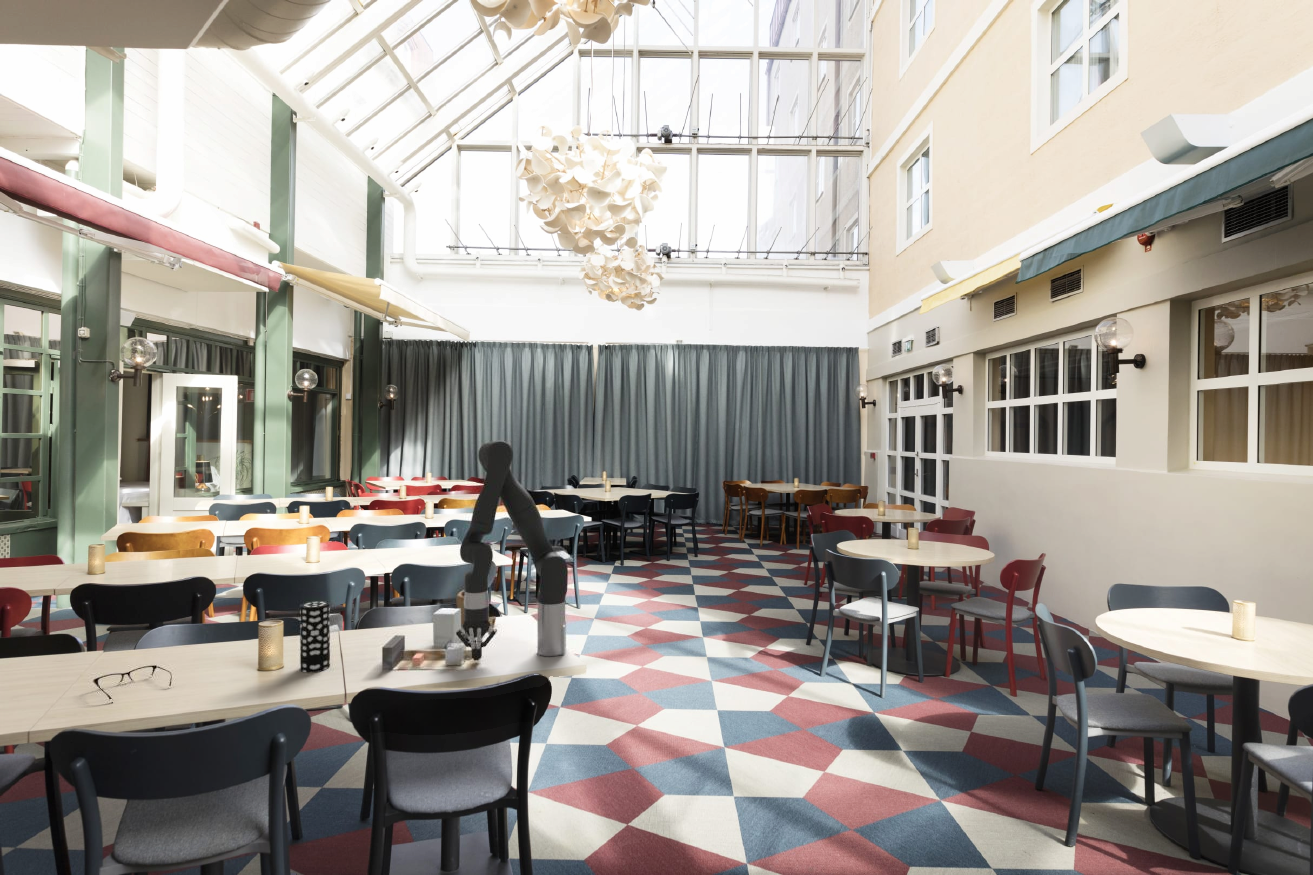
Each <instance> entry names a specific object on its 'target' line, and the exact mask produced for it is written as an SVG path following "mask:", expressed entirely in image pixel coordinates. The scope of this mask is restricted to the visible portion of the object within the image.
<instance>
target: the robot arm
mask: <svg viewBox="0 0 1313 875" xmlns="http://www.w3.org/2000/svg"><path fill="white" fill-rule="evenodd" d="M513 459H514V451H513V448H512V446H511V445H510V444H509V443H508V442H507V441H504V440H494V441H489V442H486V443H483V444H482V445H481V446H480V448H479V451H478V460H479V463H480V465H481V467H482V469H483V470H484V472H485V473H486V474H485V477H484V478H485V479H484V481H483V482H484V483H483V485H482V487H481V490H480V493H479V494H478V497H477V499H476V502H475V504H474V506H473V511H472V515H471V516H472V517H471V520H470V525H469V528H468V530H467V532H466V534H465V536H464V538H463V540H462V542H461V544H460V548H459V556H460V559H461V560H462V561H463V562H464V563H466V564H472V565H473V569H472V570H471V571H469V572H467V573H466V574H465V577H464V590H465V596H464V624H463V627H462V628H461V629H459V630H458V631H457V632H456V635H457V636H458V637H459V638H460V640H461V643H464V645H465V646H466V648H470V649H472V659H474V660H479V659H480V658H481V656H483V649H482V648H485V647H486V646H488V644H489V643H490V641H491V640H492V639H493V638H494V637H495V635H496V634H497V632H498V629H497V628H494V627H491V625H490V622H489V617H490V613H489V612H490V605H489V604H490V596H489V585H488V584H489V575H490V570H491V566H492V563H493V559H494V553H493V549H492V546H491V545H490V544H488V543H486V542H483V541H482V540H483V539H484V537H485V536H488V535H490V534H492V532H493V530H494V525H495V519H496V514H497V511H498V510H497V509H498V506H499V501H500V500H501V502H502V503H503V504H502V505H503V506H504V508H505V510H506V512H507V514H508V516H509V518H510V520H511V523H512V524H513V526H514V528H515V530H516V531H517V533H518V535H519V536H520V538H521V539H522V541H523V542H524V544H525V546H526V548H527V550H528V552H529V555H530V558H531V561H532V562H533V563H532V564H533V565H534V568H535V571H536V573H537V575H538V576H539V577H540V588H539V589H540V590H539V592H538V593H537V645H536V646H537V654H538V655H540V656H544V657H557V656H561V655H562V656H564V655H565V654H566V650H567V621H566V596H567V592H568V582H569V581H568V580H569V578H568V577H569V575H568V574H569V568H568V564H567V561H566V560H565V558H564V557H563V556H561V555H559V554H558V553H557V552H556V550H555V549H554V548H553V546H552V545H551V543H550V541H549V538H548V537H547V534H546V531H545V528H544V524H543V519H542V517H541V516H542V515H541V513H540V511H539V508H538V507H537V505H536V502H535V501H534V499H533V497H532V496H531V494H530V493H529V492H528V491H527V490H526V489H525V487H524V486H523V485H522V484H521V483H520V482H519V481H518V479H517V478H516V477H515V475H514V473H513V472H512V470H511V466H512V462H513ZM486 633H488V637H486V639H485V640H484V641H483V639H484V636H486ZM466 634H467V635H466Z"/></svg>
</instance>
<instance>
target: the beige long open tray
mask: <svg viewBox="0 0 1313 875" xmlns="http://www.w3.org/2000/svg"><path fill="white" fill-rule="evenodd" d="M405 638H406V635H401V634H400V635H398V634H397V635H396V634H395V635H394V636H393V637H392V638H391V639H389V641H387V642H386V643H385V644H384V645H383V646H382V648H381V654H382V655H381V664H382V665H381V669H382V670H381V671H382V672H383V671H467V670H468V671H470V670H473V671H475V670H476V669H477V668H478V666H479V665H480V662H482V659H483V658H484V656H483V655H482V656H481V658H480V659H479V660H474V659H472V649H471V648H470V649H469V648H468V649H467V648H466V660H465V661H464V663H463V664H462V665H445V649H444V648H443V649H406V644H405V643H406V639H405ZM415 654H424V662H423V663H422V664H421V665H420V666H412V658H413V657H414V656H415Z"/></svg>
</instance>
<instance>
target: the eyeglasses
mask: <svg viewBox="0 0 1313 875" xmlns="http://www.w3.org/2000/svg"><path fill="white" fill-rule="evenodd" d="M146 668H152V673H151V675H152V676H153V674H154V673H155V670H156V669H157V668H158V669H160V670H163V671H166V672H168V673H169V674H170V680H169V686H171V685H172V680H173V679H172V678H173V677H172V675H173V674H172V673H171V671H169V670H167V669H165V668H163V667H161V666H159V665H155V664H154V665H146V666H141V667H138V668H135V669H132V670H129V671H127V672H123V673H120V672H119V673H110V674H106V675H102V676H99V677H96V678H94V679H93V680H92V682H93V684H95V685H96V687H98V689H100V690H101V691H102V692H103V693H104V694H105V695H106V696H107V698H108V700H110V699H112V697H111V695H109V694H108V693H107V692H106V691H105V690H104V689H103V688H102V687H101V686H100V684H99V680H100V679H103V678H105V677H109V676H121V679H120V681H119V683H120V682H121V683H122V682H123V681H124V678H125V675H126V676H128V678H129V680H130V681H132V680H133V678H132V677H131V673H132V672H135V671H137V670H140V669H141V670H142V669H146ZM151 675H150V676H151ZM100 687H101V688H102V689H101V688H100ZM112 700H113V699H112Z"/></svg>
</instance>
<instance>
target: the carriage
mask: <svg viewBox="0 0 1313 875" xmlns="http://www.w3.org/2000/svg"><path fill="white" fill-rule="evenodd" d="M444 649H445V665H462V664H463V663H464V661H465V660H466V649H467V647H466V646H465V645H464V643H463V642H461V643H452V639H450V640H448V642H447V643H446V644H445V645H444V647H443V650H444Z"/></svg>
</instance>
